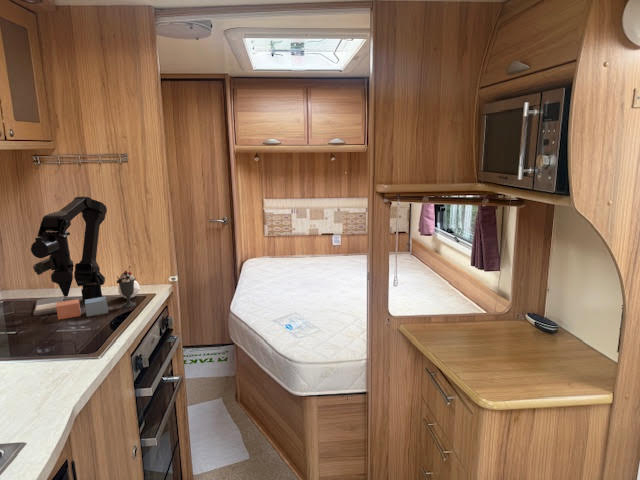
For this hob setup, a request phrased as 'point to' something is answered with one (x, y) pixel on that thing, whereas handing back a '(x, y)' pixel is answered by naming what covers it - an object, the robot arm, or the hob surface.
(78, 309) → the terracotta brick
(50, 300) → the build plate
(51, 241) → the robot arm
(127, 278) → the sundae
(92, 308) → the slate brick
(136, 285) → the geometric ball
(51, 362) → the hob surface
